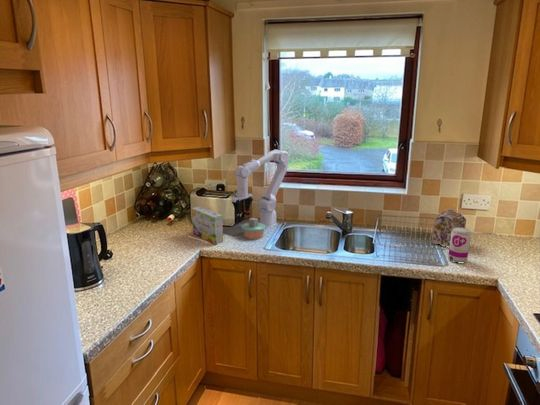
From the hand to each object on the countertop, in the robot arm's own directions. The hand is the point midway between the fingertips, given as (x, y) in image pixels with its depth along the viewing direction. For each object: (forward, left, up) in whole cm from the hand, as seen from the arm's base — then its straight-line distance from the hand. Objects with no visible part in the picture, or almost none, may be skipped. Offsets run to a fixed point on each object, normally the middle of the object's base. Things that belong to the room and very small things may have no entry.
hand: (242, 212), depth 227 cm
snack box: (+22, -5, -11) cm, 25 cm away
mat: (+4, -3, -10) cm, 12 cm away
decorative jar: (-51, +95, -11) cm, 108 cm away
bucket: (+4, +12, -10) cm, 16 cm away
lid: (+4, +11, -5) cm, 13 cm away
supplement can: (-31, +105, -11) cm, 110 cm away
